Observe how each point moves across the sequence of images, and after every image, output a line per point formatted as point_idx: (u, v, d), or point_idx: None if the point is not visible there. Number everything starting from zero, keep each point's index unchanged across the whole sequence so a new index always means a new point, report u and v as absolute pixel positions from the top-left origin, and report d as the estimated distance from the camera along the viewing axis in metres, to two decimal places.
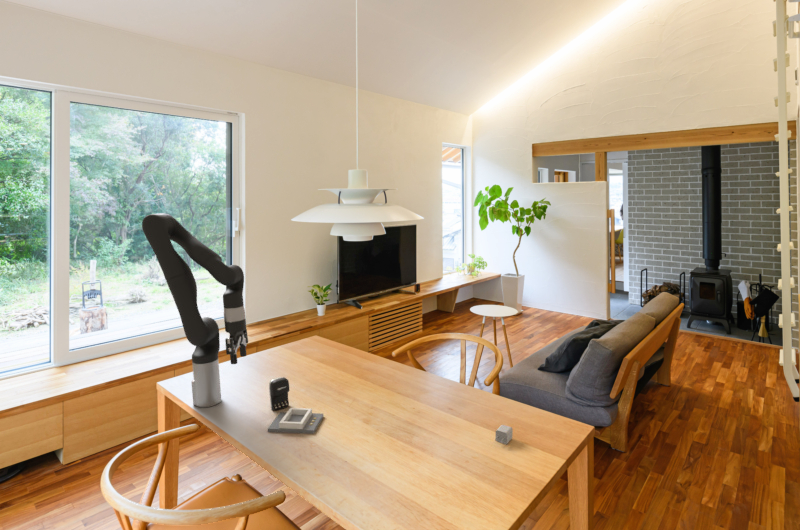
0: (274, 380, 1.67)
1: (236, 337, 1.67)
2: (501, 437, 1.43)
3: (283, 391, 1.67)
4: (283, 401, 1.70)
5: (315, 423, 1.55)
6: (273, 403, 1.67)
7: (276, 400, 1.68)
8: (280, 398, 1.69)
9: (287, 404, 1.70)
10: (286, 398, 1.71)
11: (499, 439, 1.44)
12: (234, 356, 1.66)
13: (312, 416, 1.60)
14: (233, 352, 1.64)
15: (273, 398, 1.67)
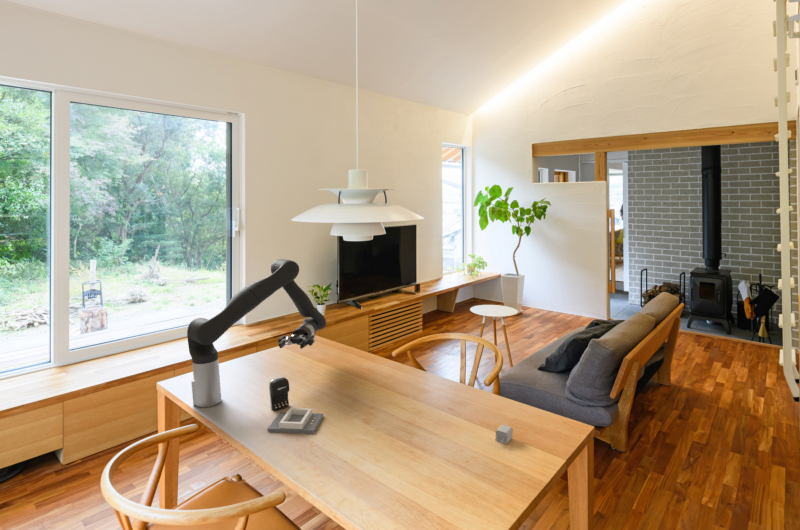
0: (274, 380, 1.67)
1: None
2: (501, 437, 1.43)
3: (283, 391, 1.67)
4: (283, 401, 1.70)
5: (315, 423, 1.55)
6: (273, 403, 1.67)
7: (276, 400, 1.68)
8: (280, 398, 1.69)
9: (287, 404, 1.70)
10: (286, 398, 1.71)
11: (499, 439, 1.44)
12: (305, 345, 1.82)
13: (312, 416, 1.60)
14: None
15: (273, 398, 1.67)
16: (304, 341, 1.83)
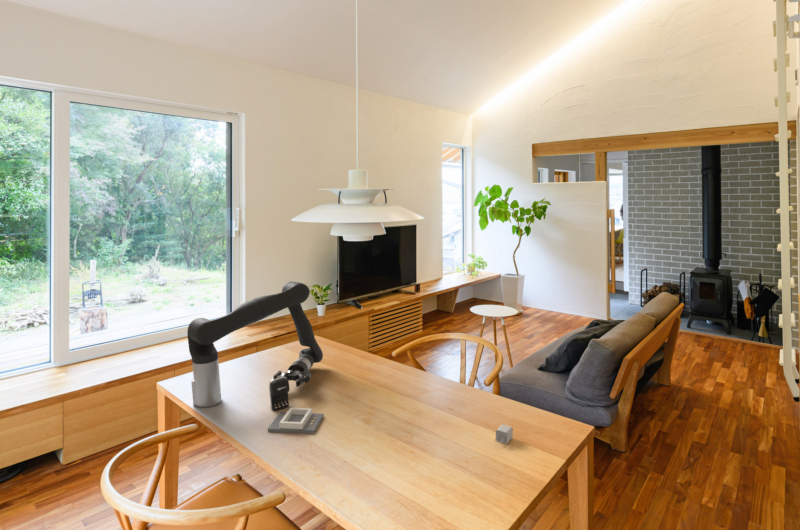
0: (274, 380, 1.67)
1: None
2: (501, 437, 1.43)
3: (283, 391, 1.67)
4: (283, 401, 1.70)
5: (315, 423, 1.55)
6: (273, 403, 1.67)
7: (276, 400, 1.68)
8: (280, 398, 1.69)
9: (287, 404, 1.70)
10: (286, 398, 1.71)
11: (499, 439, 1.44)
12: None
13: (312, 416, 1.60)
14: (307, 382, 1.80)
15: (273, 398, 1.67)
16: (300, 378, 1.78)
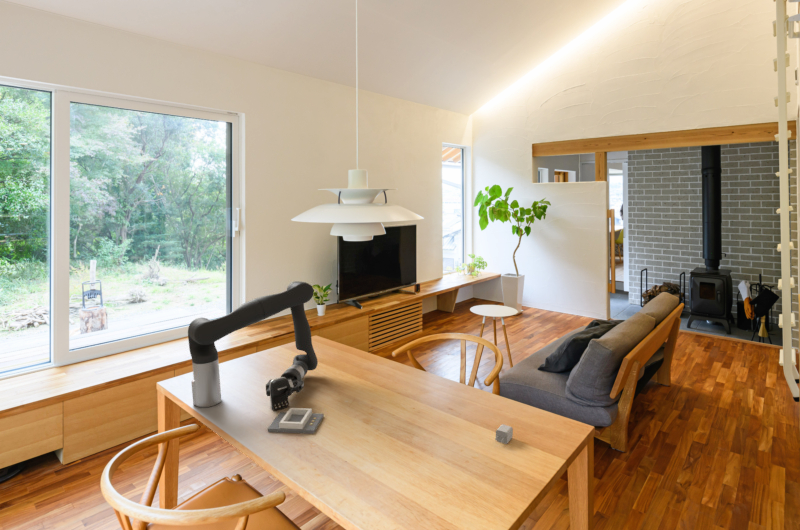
0: (274, 380, 1.67)
1: None
2: (501, 436, 1.43)
3: (283, 391, 1.67)
4: (283, 401, 1.70)
5: (315, 423, 1.55)
6: (273, 403, 1.67)
7: (276, 400, 1.68)
8: (280, 398, 1.69)
9: (287, 404, 1.70)
10: (286, 398, 1.71)
11: (499, 439, 1.44)
12: (291, 392, 1.69)
13: (312, 416, 1.60)
14: None
15: (273, 398, 1.67)
16: (291, 388, 1.69)
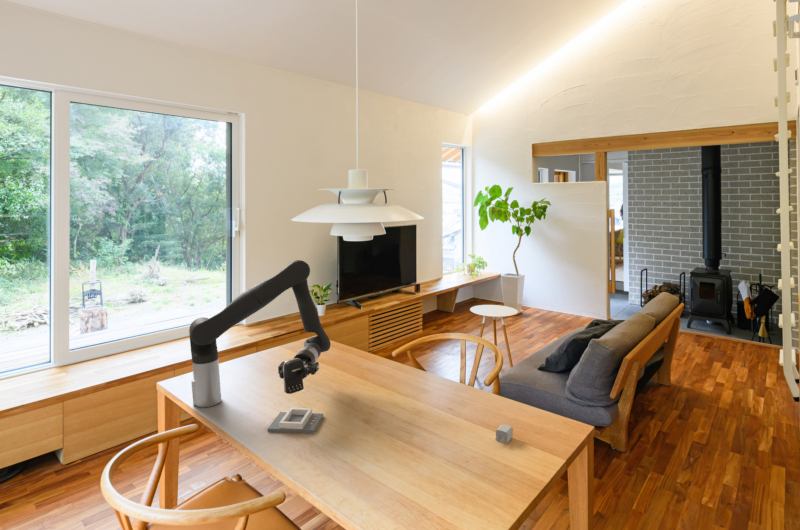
0: (288, 361, 1.55)
1: None
2: (501, 436, 1.43)
3: (298, 373, 1.55)
4: (297, 384, 1.58)
5: (315, 423, 1.55)
6: (287, 386, 1.55)
7: (290, 383, 1.56)
8: (294, 381, 1.57)
9: (302, 387, 1.58)
10: (300, 381, 1.59)
11: (499, 438, 1.44)
12: (306, 374, 1.57)
13: (312, 416, 1.60)
14: (313, 374, 1.59)
15: (287, 380, 1.55)
16: (306, 370, 1.57)
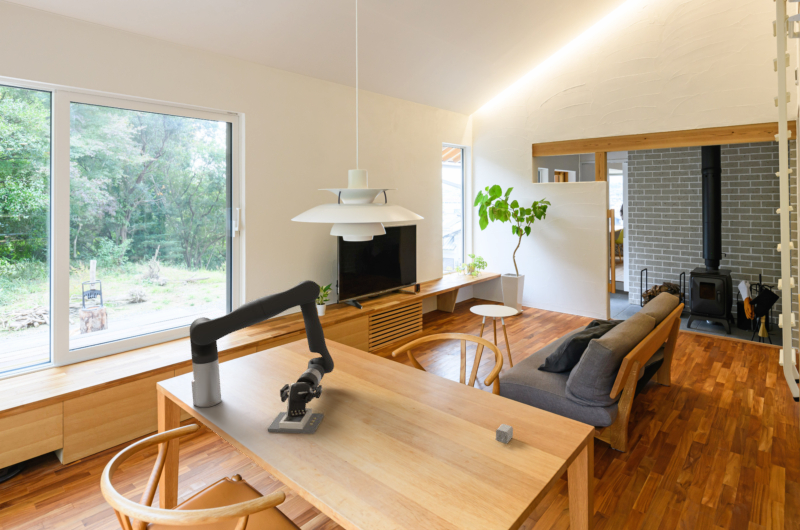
0: (295, 383, 1.57)
1: None
2: (501, 436, 1.44)
3: (303, 396, 1.57)
4: (300, 409, 1.58)
5: (315, 423, 1.55)
6: (290, 409, 1.55)
7: (294, 406, 1.56)
8: (298, 405, 1.58)
9: (304, 413, 1.58)
10: (304, 406, 1.59)
11: (499, 438, 1.44)
12: None
13: (312, 416, 1.60)
14: None
15: (291, 403, 1.56)
16: (310, 394, 1.58)
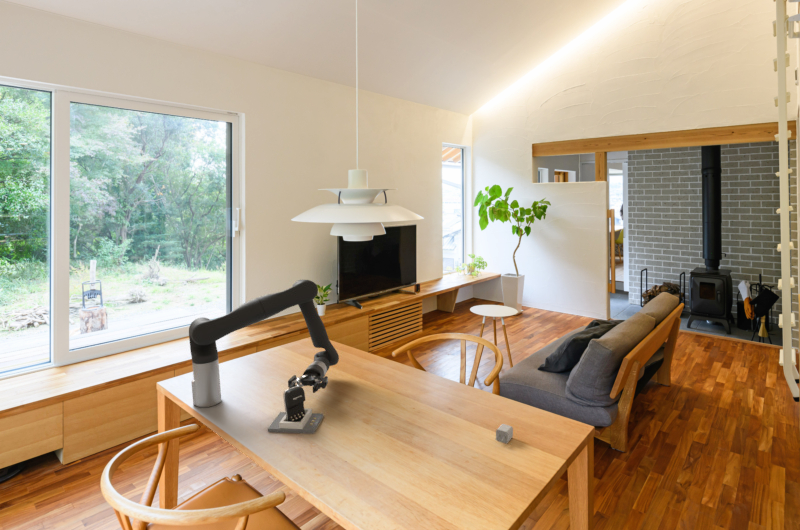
0: (288, 390, 1.55)
1: None
2: (501, 436, 1.44)
3: (299, 401, 1.56)
4: (299, 412, 1.58)
5: (315, 423, 1.55)
6: (289, 415, 1.55)
7: (292, 412, 1.56)
8: (296, 409, 1.57)
9: (304, 415, 1.58)
10: (302, 409, 1.59)
11: (499, 438, 1.44)
12: None
13: (312, 416, 1.60)
14: None
15: (289, 409, 1.55)
16: (317, 384, 1.66)
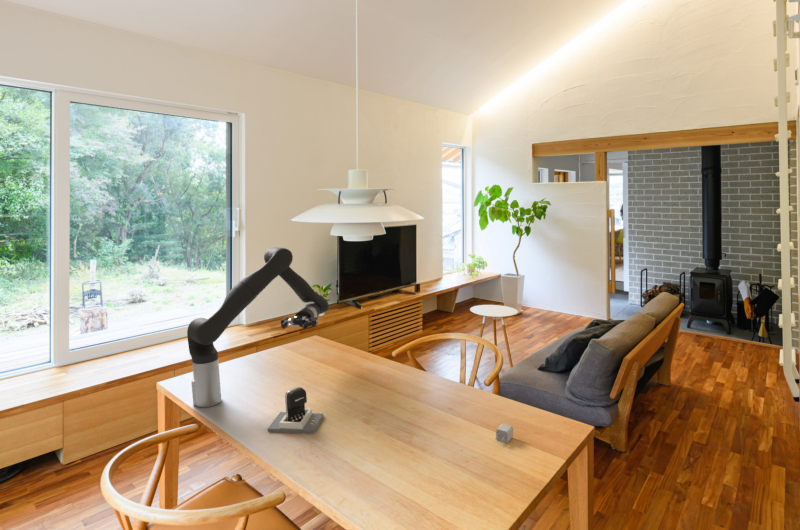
0: (291, 391, 1.54)
1: None
2: (501, 436, 1.44)
3: (301, 402, 1.55)
4: (300, 413, 1.58)
5: (315, 423, 1.55)
6: (290, 416, 1.55)
7: (293, 412, 1.56)
8: (297, 410, 1.57)
9: None
10: (303, 410, 1.58)
11: (500, 438, 1.44)
12: (308, 326, 1.80)
13: (312, 416, 1.60)
14: (314, 326, 1.82)
15: (290, 410, 1.55)
16: (307, 322, 1.80)
